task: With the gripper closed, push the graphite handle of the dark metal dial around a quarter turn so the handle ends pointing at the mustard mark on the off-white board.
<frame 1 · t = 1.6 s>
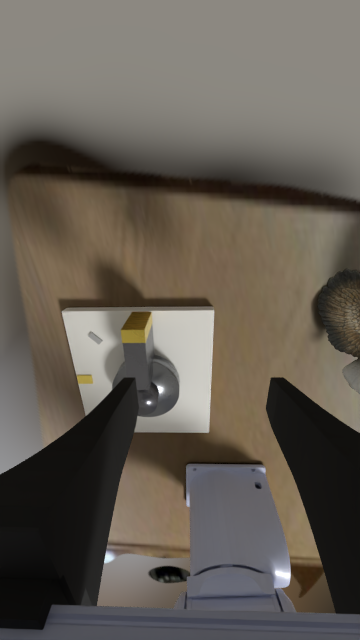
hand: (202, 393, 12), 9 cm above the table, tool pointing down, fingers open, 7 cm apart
dial: (143, 374, 19), point 3 cm above the table, hinge at -90.0°
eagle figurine: (355, 316, 20), on the table
dial plate: (145, 372, 23), on the table
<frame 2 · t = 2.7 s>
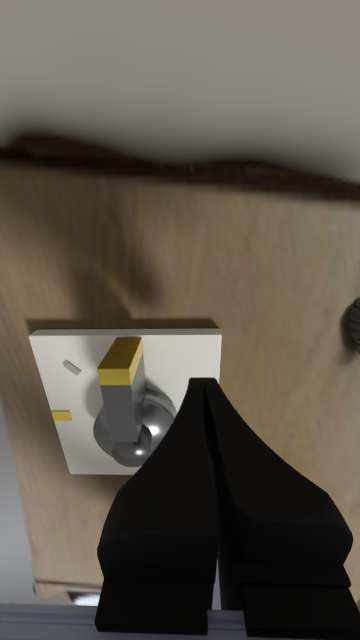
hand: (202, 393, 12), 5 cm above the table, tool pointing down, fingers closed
dial: (131, 417, 15), point 3 cm above the table, hinge at -90.0°
dial plate: (136, 406, 19), on the table
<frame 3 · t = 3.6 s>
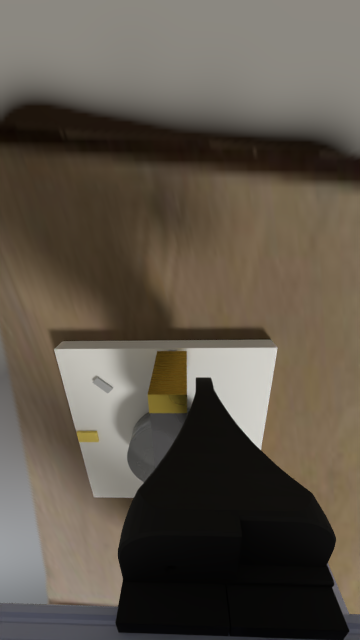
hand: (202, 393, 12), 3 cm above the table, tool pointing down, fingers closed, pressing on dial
dial: (173, 442, 13), point 3 cm above the table, hinge at -89.9°, touching gripper
dial plate: (169, 424, 17), on the table
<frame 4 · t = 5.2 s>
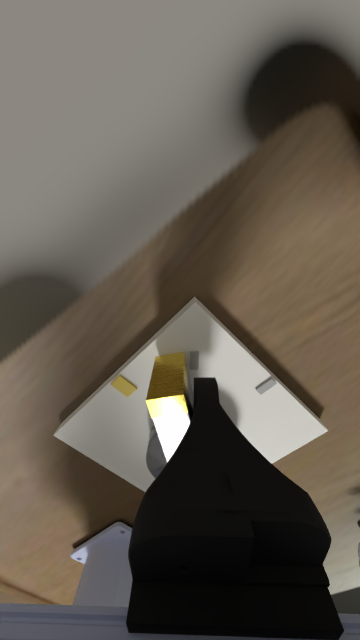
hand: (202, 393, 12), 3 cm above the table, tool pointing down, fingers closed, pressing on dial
dial: (187, 443, 13), point 3 cm above the table, hinge at -33.3°, touching gripper
dial plate: (187, 421, 17), on the table
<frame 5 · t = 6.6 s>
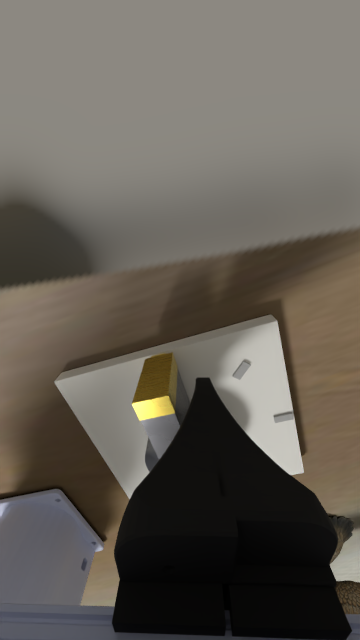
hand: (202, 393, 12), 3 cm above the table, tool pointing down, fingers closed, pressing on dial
dial: (183, 443, 13), point 3 cm above the table, hinge at -1.4°, touching gripper
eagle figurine: (306, 537, 23), on the table
dial plate: (189, 419, 17), on the table
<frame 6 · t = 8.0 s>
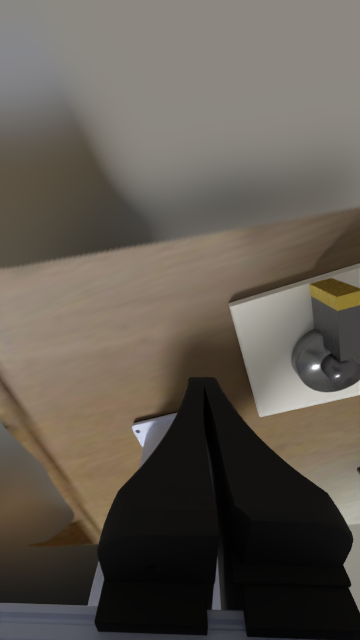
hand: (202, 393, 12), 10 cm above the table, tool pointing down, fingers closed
dial: (336, 345, 18), point 3 cm above the table, hinge at -1.1°
dial plate: (317, 343, 22), on the table
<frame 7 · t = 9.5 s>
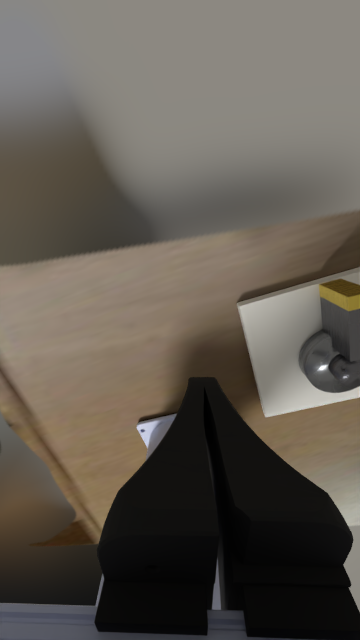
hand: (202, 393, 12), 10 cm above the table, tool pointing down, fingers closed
dial: (345, 346, 18), point 3 cm above the table, hinge at -1.1°
dial plate: (324, 343, 22), on the table
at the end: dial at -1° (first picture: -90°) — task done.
